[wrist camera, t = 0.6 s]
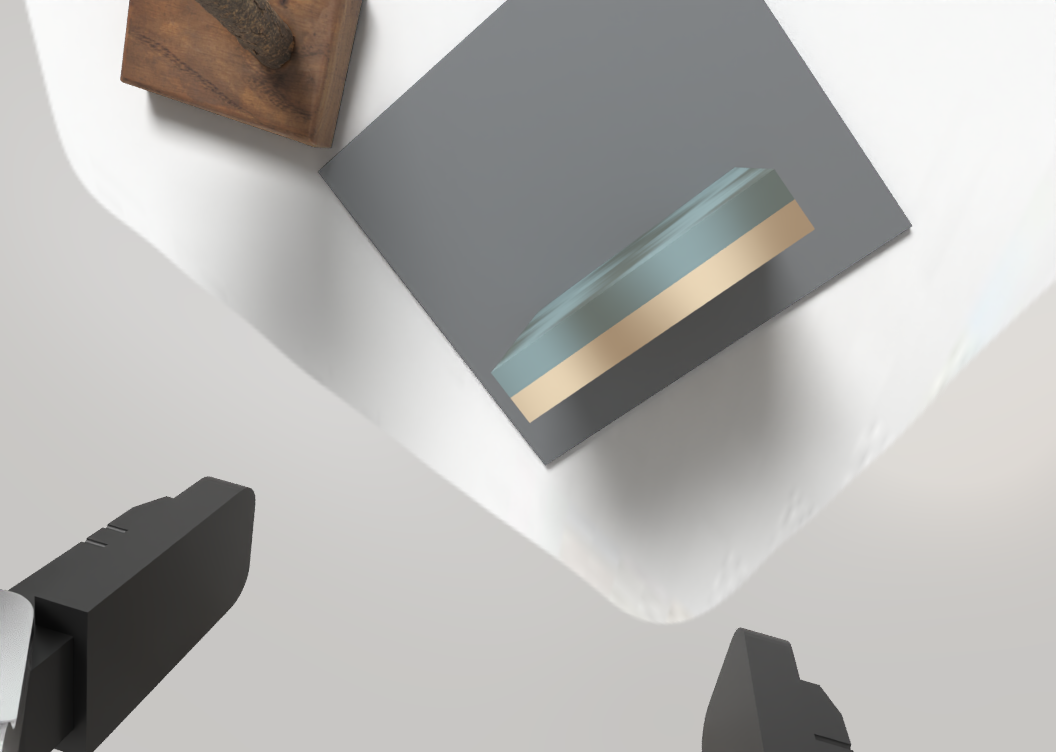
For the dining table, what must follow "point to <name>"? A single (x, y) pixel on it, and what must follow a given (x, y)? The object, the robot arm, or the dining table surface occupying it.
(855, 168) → the mat
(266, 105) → the bird figurine
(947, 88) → the dining table surface
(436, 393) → the dining table surface
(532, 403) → the board
